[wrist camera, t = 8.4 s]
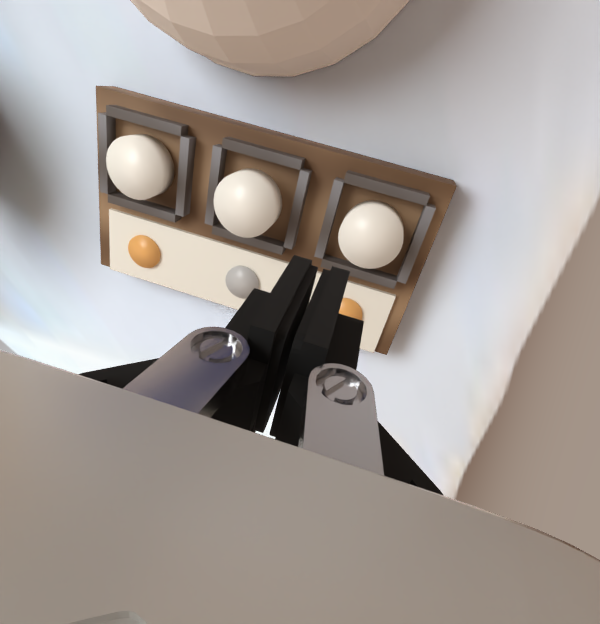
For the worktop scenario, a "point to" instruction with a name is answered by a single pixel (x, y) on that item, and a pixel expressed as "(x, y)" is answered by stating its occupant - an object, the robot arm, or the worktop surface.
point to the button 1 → (140, 166)
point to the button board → (290, 180)
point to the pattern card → (222, 270)
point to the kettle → (272, 30)
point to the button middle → (247, 202)
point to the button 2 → (371, 234)
